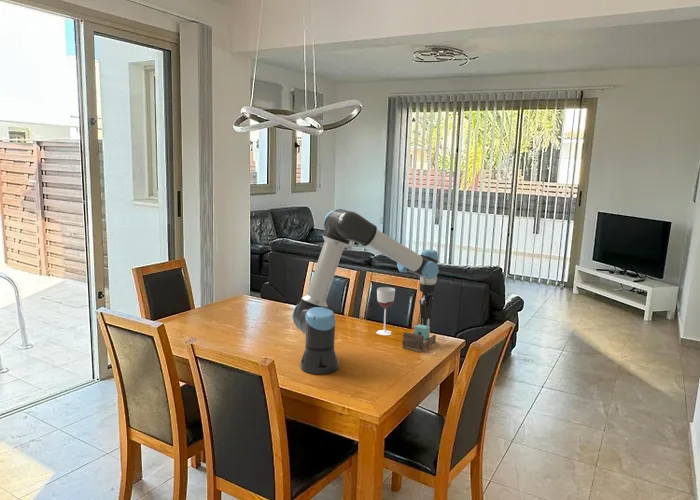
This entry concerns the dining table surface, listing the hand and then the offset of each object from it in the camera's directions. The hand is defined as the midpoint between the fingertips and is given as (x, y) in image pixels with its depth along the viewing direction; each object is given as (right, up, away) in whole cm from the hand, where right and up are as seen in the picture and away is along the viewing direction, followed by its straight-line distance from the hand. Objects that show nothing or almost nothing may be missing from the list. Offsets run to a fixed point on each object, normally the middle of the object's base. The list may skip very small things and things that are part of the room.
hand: (425, 332), depth 241 cm
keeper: (-2, -4, -3) cm, 5 cm away
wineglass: (-19, -2, +12) cm, 22 cm away
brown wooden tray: (-3, -5, -5) cm, 8 cm away
